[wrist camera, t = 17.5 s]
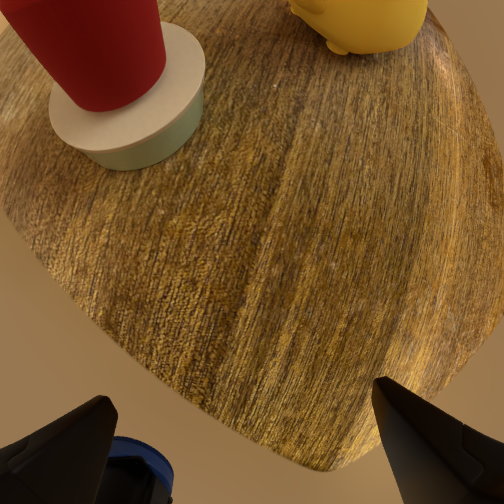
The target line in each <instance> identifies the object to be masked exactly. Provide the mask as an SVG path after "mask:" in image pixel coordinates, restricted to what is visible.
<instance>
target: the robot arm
mask: <svg viewBox="0 0 504 504" xmlns="http://www.w3.org/2000/svg"><path fill="white" fill-rule="evenodd" d="M371 399H372V405H373V409H374V413H375V417H376V421H377V425H378V429H379V433H380V437H381V441H382V444H383V447H384V449H385V452H386V455H387V458H388V460H389V463H390V466H391V468H392V471H393V474H394V476H395V479H396V482H397V485H398V488H399V491H400V494H401V497H402V499H403V502H404V504H504V443H502V442H499V441H497V440H495V439H493V438H490V437H488V436H486V435H484V434H482V433H480V432H478V431H476V430H475V429H473V428H471V427H469V426H468V425H466V424H464V425H463V423H462V422H461V421H459V420H457V419H455V418H454V417H452V416H450V415H449V414H447V413H445V412H444V411H442V410H440V409H439V408H437V407H436V406H434V405H432V404H431V403H429V402H427V401H426V400H424V399H422V398H421V397H419V396H418V395H416V394H414V393H413V392H411V391H410V390H408V389H406V388H405V387H403V386H402V385H400V384H398V383H397V382H395V381H394V380H392V379H390V378H389V377H387V376H383V377H380V378H376V379H374V381H373V388H372V397H371ZM117 420H118V413H117V410H116V409H115V407H114V405H113V404H112V402H111V400H110V398H109V397H107V396H102V395H98V396H96V397H94V398H92V399H91V400H89V401H88V402H86V403H84V404H82V405H81V406H79V407H77V408H76V409H74V410H72V411H71V412H69V413H67V414H65V415H64V416H62V417H60V418H58V419H57V420H55V421H53V422H52V423H50V424H48V425H46V426H45V427H43V428H41V429H39V430H37V431H35V432H34V433H32V434H30V435H28V436H26V437H24V438H23V439H21V440H19V441H17V442H15V443H13V444H10V445H8V446H6V447H4V448H1V449H0V504H172V501H173V499H172V497H171V496H170V495H169V492H168V490H167V489H166V488H165V486H164V485H163V483H162V482H161V481H160V479H159V478H158V476H157V475H155V474H154V472H153V471H152V470H151V468H150V467H149V465H148V464H147V462H146V460H145V459H144V458H143V457H142V456H139V455H135V456H122V457H109V453H110V450H111V446H112V442H113V437H114V433H115V428H116V424H117ZM137 460H139V461H141V462H139V461H137Z"/></svg>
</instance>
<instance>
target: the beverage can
mask: <svg viewBox="0 0 504 504" xmlns="http://www.w3.org/2000/svg"><path fill="white" fill-rule="evenodd" d="M0 11H1V12H2V13H3V15H4V16H5V18H6V19H7V20H8V22H9V23H10V25H11V26H12V27H13V29H14V30H15V31H16V33H17V34H18V35H19V37H20V38H21V39H22V40H23V42H24V43H25V44H26V46H27V47H28V48H29V49H30V51H31V52H32V53H33V54H34V56H35V57H36V58H37V59H38V61H39V62H40V63H41V64H42V65H43V67H44V68H45V69H46V70H47V71H48V73H49V74H50V75H51V76H52V77H53V79H54V80H55V81H56V82H57V83H58V84H59V86H60V87H61V88H62V89H63V90H64V91H65V92H66V94H67V95H68V96H69V97H70V98H71V99H72V100H73V101H74V103H75V104H76V105H77V106H79V107H80V108H82V109H84V110H87V111H91V112H106V111H111V110H115V109H118V108H121V107H124V106H126V105H128V104H130V103H132V102H134V101H135V100H137V99H138V98H140V97H141V96H143V95H144V94H145V93H146V92H148V91H149V90H150V89H151V88H152V87H153V86H154V85H155V83H156V82H157V81H158V79H159V78H160V76H161V75H162V73H163V71H164V68H165V65H166V50H165V45H164V39H163V34H162V28H161V23H160V17H159V11H158V6H157V0H0Z"/></svg>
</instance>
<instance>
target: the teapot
mask: <svg viewBox="0 0 504 504" xmlns="http://www.w3.org/2000/svg"><path fill="white" fill-rule="evenodd" d="M288 1H289V3H290V4H291V8H290V10H291V12H292V13H294V14H295V15H297V16H299V17H301V18H302V19H303V20H304V21H305V22H306V23H307V24H308V25H309V26H310V27H312V28H313V29H314V30H315V31H317V32H318V33H319V34H321V35H322V36H323V37H325V38H326V39H327V41H326V45H327V47H328V48H329V49H330V50H331V51H332V52H334V53H336V54H339V55H346V54H348V53H349V52H351V53H355V54H372V53H381V52H387V51H393V50H396V49H399V48H402V47H404V46H406V45H408V44H409V43H411V42H412V40H413V39H414V38H415V37H416V35H417V33H418V32H419V30H420V28H421V26H422V24H423V22H424V19H425V15H426V11H427V4H428V0H288Z"/></svg>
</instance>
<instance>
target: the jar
mask: <svg viewBox="0 0 504 504" xmlns="http://www.w3.org/2000/svg"><path fill="white" fill-rule="evenodd" d="M160 23H161V28H162V34H163V39H164V45H165V50H166V65H165V68H164V71H163V73H162V75H161V76H160V78H159V79H158V81H157V82H156V83H155V85H154V86H153V87H152V88H151V89H150V90H149V91H148V92H146V93H145V94H144V95H143V96H141V97H140V98H138V99H137V100H135V101H134V102H132V103H130V104H128V105H126V106H124V107H121V108H118V109H115V110H111V111H106V112H91V111H87V110H84V109H82V108H80V107H79V106H77V105H76V104H75V103H74V101H73V100H72V99H71V98H70V97H69V96H68V95H67V94H66V92H65V91H64V90H63V89H62V88H61V87H60V86H59V84H58V83H57V82H56V81H55V82H54V85H53V88H52V90H51V94H50V98H49V117H50V122H51V124H52V127H53V129H54V131H55V132H56V134H57V135H58V136H59V137H60V138H61V139H62V140H63V141H64V142H65V143H67V144H68V145H70V146H71V147H73V148H75V149H77V150H80V151H81V152H82V153H83V154H85V155H86V156H87V157H88V158H89V159H91V160H92V161H93V162H95V163H96V164H98V165H100V166H102V167H105V168H108V169H112V170H119V171H129V170H136V169H141V168H145V167H148V166H151V165H153V164H156V163H158V162H160V161H162V160H164V159H166V158H167V157H169V156H170V155H172V154H173V153H174V152H176V151H177V150H178V149H179V148H180V147H182V145H183V144H184V143H185V142H186V141H187V140H188V139H189V138H190V136H191V135H192V134H193V132H194V131H195V129H196V127H197V126H198V124H199V121H200V119H201V116H202V113H203V107H204V90H203V81H204V77H205V56H204V51H203V49H202V47H201V45H200V43H199V42H198V40H197V39H196V38H195V37H194V36H193V35H192V34H191V33H190V32H188V31H187V30H185V29H184V28H182V27H180V26H177V25H174V24H171V23H167V22H162V21H160Z"/></svg>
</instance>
